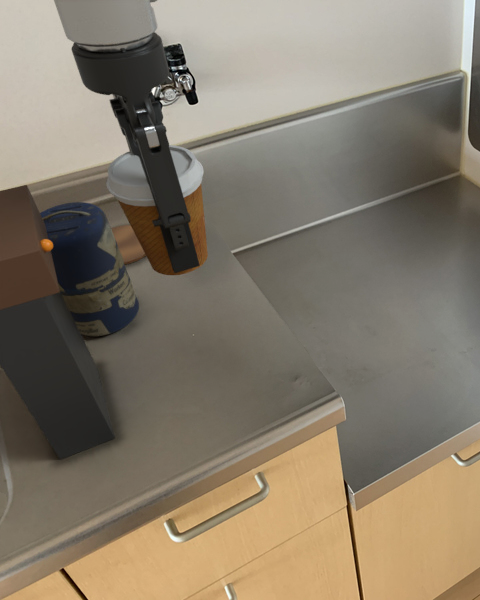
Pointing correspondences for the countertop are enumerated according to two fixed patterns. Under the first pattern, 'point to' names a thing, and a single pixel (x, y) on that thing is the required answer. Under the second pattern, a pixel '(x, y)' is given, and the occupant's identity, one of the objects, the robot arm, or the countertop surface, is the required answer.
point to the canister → (90, 268)
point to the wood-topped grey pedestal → (45, 335)
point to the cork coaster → (128, 244)
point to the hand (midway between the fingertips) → (175, 245)
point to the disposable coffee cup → (141, 208)
